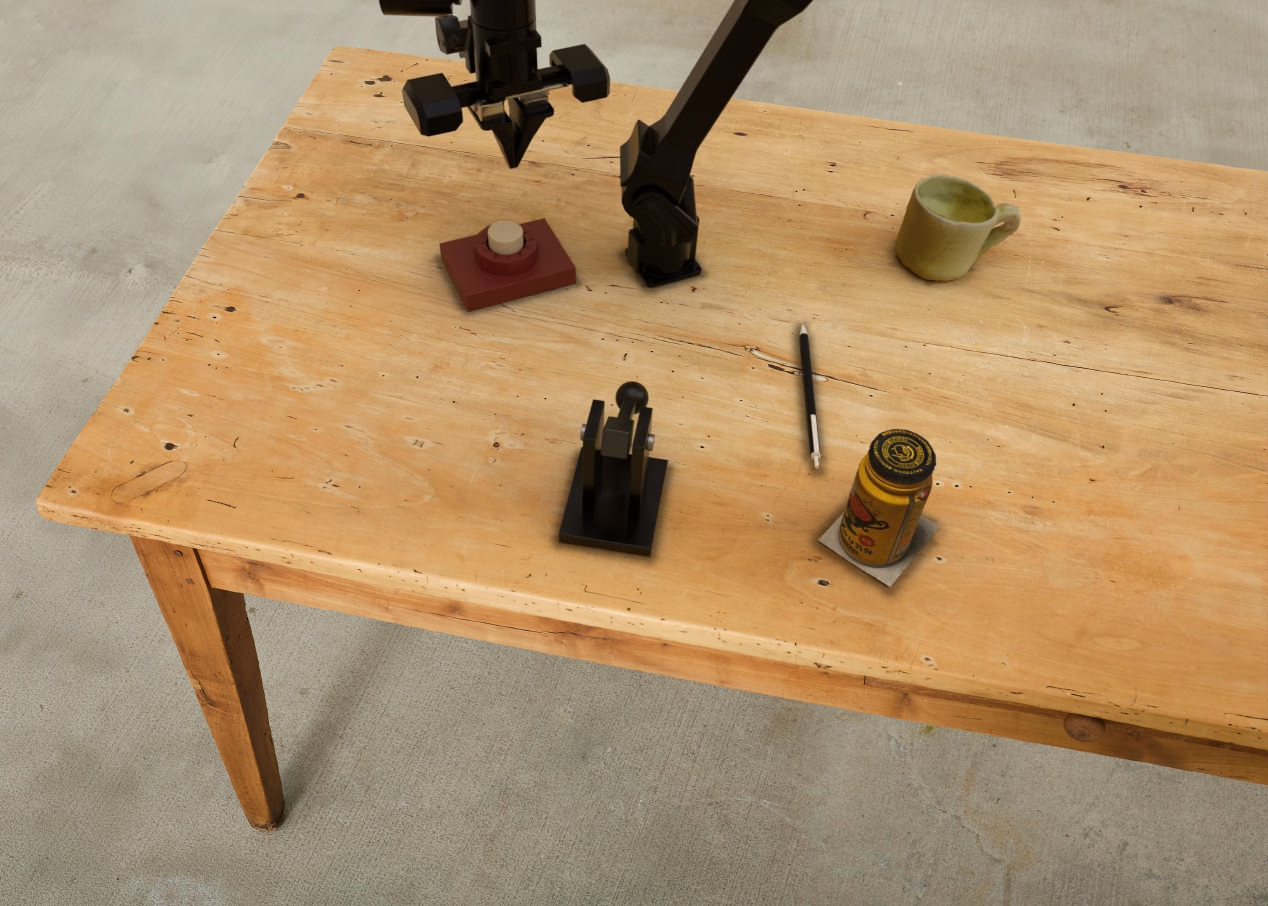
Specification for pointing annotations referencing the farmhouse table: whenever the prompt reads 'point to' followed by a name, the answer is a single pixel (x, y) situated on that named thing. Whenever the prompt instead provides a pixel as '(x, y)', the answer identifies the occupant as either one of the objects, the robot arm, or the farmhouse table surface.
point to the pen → (809, 397)
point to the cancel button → (505, 237)
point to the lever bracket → (614, 490)
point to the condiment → (887, 506)
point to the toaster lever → (623, 420)
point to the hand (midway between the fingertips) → (512, 165)
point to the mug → (951, 227)
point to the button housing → (507, 266)
